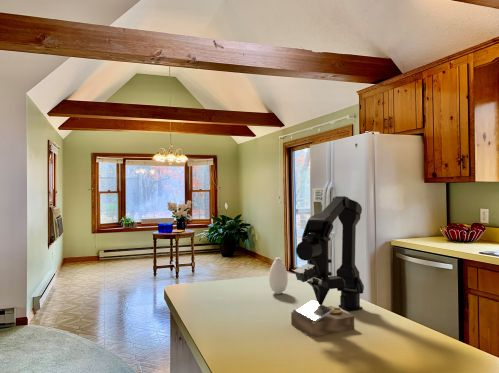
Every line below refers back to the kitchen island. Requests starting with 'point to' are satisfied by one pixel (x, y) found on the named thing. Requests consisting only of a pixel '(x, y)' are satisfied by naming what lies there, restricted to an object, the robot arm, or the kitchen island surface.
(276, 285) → the sauce bottle
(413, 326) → the kitchen island surface
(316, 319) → the steel flap
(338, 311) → the gold metal dome
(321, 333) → the brown box
